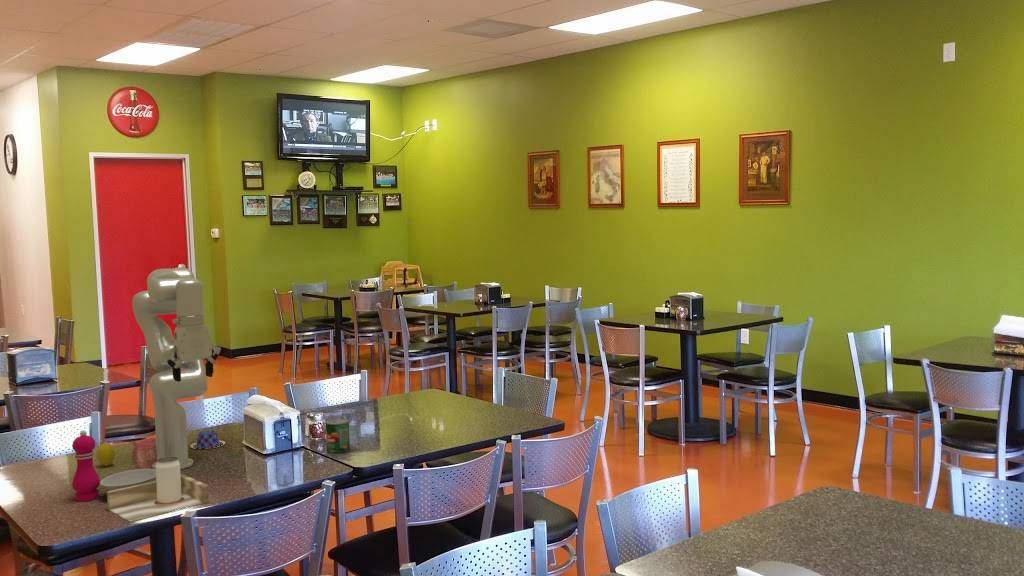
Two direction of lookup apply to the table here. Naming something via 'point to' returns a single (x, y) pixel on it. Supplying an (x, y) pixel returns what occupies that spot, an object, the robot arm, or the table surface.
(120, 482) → the dish
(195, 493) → the gold shallow open box
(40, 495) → the table surface
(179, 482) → the can
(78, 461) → the pepper mill
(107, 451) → the lemon
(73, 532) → the table surface
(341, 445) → the canned tomato
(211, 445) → the blue patterned low dome
